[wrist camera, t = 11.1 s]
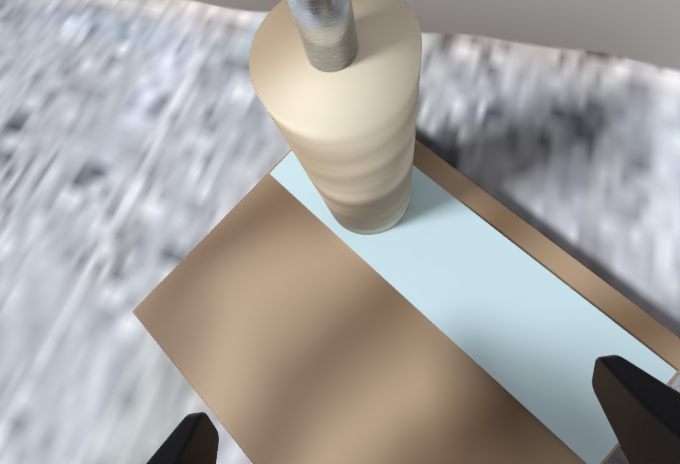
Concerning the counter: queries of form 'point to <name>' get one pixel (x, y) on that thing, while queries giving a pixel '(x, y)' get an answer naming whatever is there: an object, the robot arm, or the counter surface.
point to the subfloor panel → (398, 330)
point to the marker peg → (345, 100)
